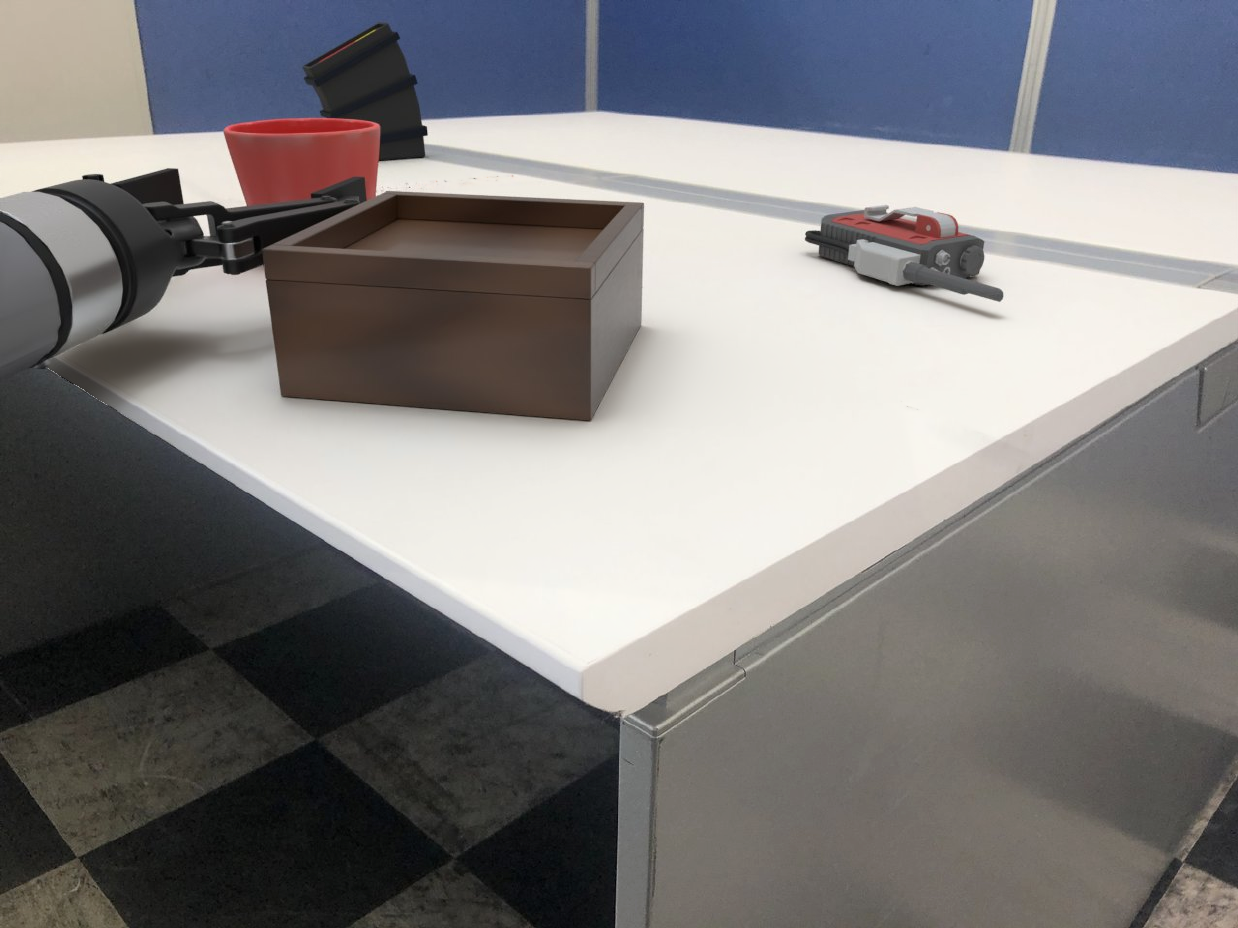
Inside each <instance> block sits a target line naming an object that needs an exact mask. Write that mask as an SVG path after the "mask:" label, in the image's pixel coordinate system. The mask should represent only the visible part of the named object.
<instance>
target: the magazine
mask: <svg viewBox="0 0 1238 928" xmlns="http://www.w3.org/2000/svg"><path fill="white" fill-rule="evenodd" d="M400 39H401V36H400V34H399V31H393V30H392V28H391V26H390V23H388V22H381V21H380V22H377V23H374V25H372V26H370V27H368V28H366V29H365V30H363V31H361V32H359V33H358V34H356V35H354V36H353V37H351V38H349V39H347V40H345V41H343V42H341V43H340V44H339V45H336V46H335V47H333V48H331V49H329V50H328V51H327V52H325V53H323V54H321V55H319V56H317V57H316V58H314V59H312V60H310V61H309V62H307V63H305V64H304V65H302V66H301V68H302V70H303V71H304V74H305V75H306V76H303V80H304V82H305V83H306V85H309V86H312V87H313V90H314V92H315V93H316V95H317V96H318V98H319V99H318V100H319V101H320V104H321V107H322V109H320V110H319V114H320V117H322V118H336V119H353V120H363V121H370V122H374V123H377V124H379V125H380V147H379V161H391V160H405V159H416V158H417V159H419V158H424V157H426V147H425V139H424V138H425V137H428V136H429V134H428V133H429V132H428V126H427V125H423V122H422V115H421V108H420V103H419V99H418V95H417V91H416V89H415V85H418V84H419V83H418V80H417V76H416V75H415V74H413V73H412V74H411V72H410V70H409V67H408V62H407V60H406V57H405V55H404V53H403V50H402V48H401V47H400V44H399V42H398V41H399V40H400Z"/></svg>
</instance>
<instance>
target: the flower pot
mask: <svg viewBox="0 0 1238 928" xmlns="http://www.w3.org/2000/svg"><path fill="white" fill-rule="evenodd" d="M223 137H224V139H225V142H226V147H227V149H228V153H229V156H230V159H231V162H232V165H233V168H234V171H235V174H236V177H237V180H238V183H239V186H240V189H241V192H242V196H243V199H244V201H245V204H246V205H245V206H251V205H260V204H269V203H278V202H286V201H295V200H304V199H311V193H313V192H316V191H318V190H321V189H324V188H326V187H329V186H331V185H334V184H336V183H339V182H341V181H344V180H347V179H349V178H352V177H365V186H366V197H367V200H369V199H371V198H374V197H376V196H377V184H378V173H379V172H378V171H379V161H380V160H379V147H380V125H379V124H377V123H374V122H370V121H363V120H353V119H336V118H326V117H299V118H274V119H265V120H263V119H262V120H255V121H248V122H240V123H235V124H230V125H228V126H226V127H225V128H224V129H223Z"/></svg>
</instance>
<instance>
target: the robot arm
mask: <svg viewBox="0 0 1238 928" xmlns="http://www.w3.org/2000/svg"><path fill="white" fill-rule="evenodd" d="M81 178H82V179H75V180H69V181H65V182H63V183H58V184H54V185H51V186H47V187H43V188H39V189H35V190H31V191H22V192H18V193H14V194H10V195H8V196H3V197H0V383H1V382H4V381H5V380H7V379H9V378H11V377H13V376H15V375H18V374H20V373H21V372H24V371H25V370H27V369H28V370H29V369H34V370H45V369H47V368H49V367H50V366H51V364H52V363H51V362H52V361H51V359H53V358H54V357H57V356H59V355H61V354H62V353H65V352H67V351H69V350H71V349H74V348H75V347H77V346H78V347H79V346H80V345H82V344H84V343H86V342H89V341H90V340H92V339H95V338H97V337H98V336H101V335H104V334H108V333H110V332H112V331H114V330H116V329H118V328H120V327H123V326H124V325H126V324H129V323H131V322H133V321H135V320H137V319H139V318H141V317H144V316H146V315H147V314H148V313H150V312H151V311H152V310H153V309H154V308H156V307H157V306H158V304H159V303H160V302H161V301H162V299H163V297H164V295H165V294H166V291H167V289H168V287H169V285H170V282H171V280H172V278H173V277H175V278H176V277H180V276H181V277H182V276H184V275H186V274H187V273H188V272H190V271H192V270H198V269H204V268H205V269H206V268H211V267H219V266H222V272H223V273H224V274H226V275H231V276H239V275H241V274H243V273H246V272H248V271H251V270H254V269H256V268H259V267H261V266H264V262H263V255H262V249H264V248H266V247H268V246H270V245H272V244H274V243H277V242H279V241H281V240H283V239H285V238H287V237H289V236H292V235H294V234H296V233H298V232H300V231H302V230H305V229H307V228H309V227H311V226H313V225H315V224H318V223H320V222H322V221H324V220H326V219H328V218H330V217H333V216H335V215H337V214H339V213H341V212H343V211H346V210H348V209H350V208H352V207H354V206H356V205H359V204H361V203H363V202H365V201H367V197H366V186H365V177H352V178H349V179H347V180H344V181H341V182H339V183H336V184H334V185H331V186H329V187H326V188H324V189H321V190H318V191H316V192H313V193H311V199H304V200H295V201H286V202H278V203H269V204H260V205H251V206H247V205H245V206H243V205H241V206H233V207H225V206H224V205H222V204H220V203H217V202H215V201H211V200H209V201H208V200H207V201H199V202H188V203H185V202H184V195H183V189H182V185H181V184H182V183H181V178H180V172H179V168H173V167H167V168H164V169H160V170H156V171H152V172H148V173H145V174H141V175H138V176H134V177H130V178H126V179H122V180H119V181H115V182H110V183H109V182H106V181H105V178H104V174H102V173H90V174H83V175H82V176H81ZM198 216H206V219H207V226H208V233H209V235H205V234H204V231H203V229H202V226H201V225H200V222H199V221H198V219H197V218H196V217H198Z"/></svg>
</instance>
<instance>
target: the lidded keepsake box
mask: <svg viewBox="0 0 1238 928" xmlns="http://www.w3.org/2000/svg"><path fill="white" fill-rule="evenodd" d="M644 225H645V202H639V201H638V202H637V201H636V202H635V201H620V200H619V201H617V200H597V199H596V200H595V199H575V198H573V199H572V198H551V197H528V196H510V195H509V196H507V195H505V196H504V195H487V194H463V193H442V192H441V193H440V192H421V191H402V190H401V191H400V190H399V191H398V190H386V191H383V192H382V193H379V195H376V197H374V198H371V199H369V200H367V201H365V202H363V203H361V204H359V205H356V206H354V207H352V208H350V209H348V210H346V211H343V212H341V213H339V214H337V215H335V216H333V217H330V218H328V219H326V220H324V221H322V222H320V223H318V224H315V225H313V226H311V227H309V228H307V229H305V230H302V231H300V232H298V233H296V234H294V235H292V236H289V237H287V238H285V239H283V240H281V241H279V242H277V243H274V244H272V245H270V246H268V247H266V248H264V249H262V255H263V262H264V265H263V269H264V276H265V277H264V278H265V287H266V293H267V302H268V308H269V315H270V325H271V330H272V339H273V345H274V353H275V360H276V361H275V362H276V367H277V368H276V369H277V375H278V382H279V390H280V396H281V397H287V398H288V397H289V398H299V399H313V400H327V401H337V402H339V401H340V402H350V403H351V402H352V403H363V404H364V403H365V404H375V405H390V406H400V407H414V408H426V409H439V410H453V411H463V412H465V411H466V412H476V413H477V412H478V413H490V414H500V415H501V414H502V415H514V416H515V415H516V416H527V417H528V416H529V417H541V418H551V419H563V420H564V419H565V420H577V421H578V420H579V421H592V419H593V417H594V415H595V413H596V411H597V409H598V407H599V405H600V403H601V401H602V400H603V398H604V397H605V394H606V392H607V390H608V388H609V386H610V384H611V383H612V381H613V379H614V377H615V375H616V373H617V371H618V370H619V368H620V365H621V364H622V362H623V360H624V358H625V357H626V355H627V352H628V350H629V348H630V346H631V345H632V344H633V341H634V339H635V337H636V335H637V334H638V332H639V330H640V328H641V326H642V321H643V320H642V316H643V315H642V314H643V271H644V232H645V231H644V229H645V228H644V227H645V226H644Z"/></svg>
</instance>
